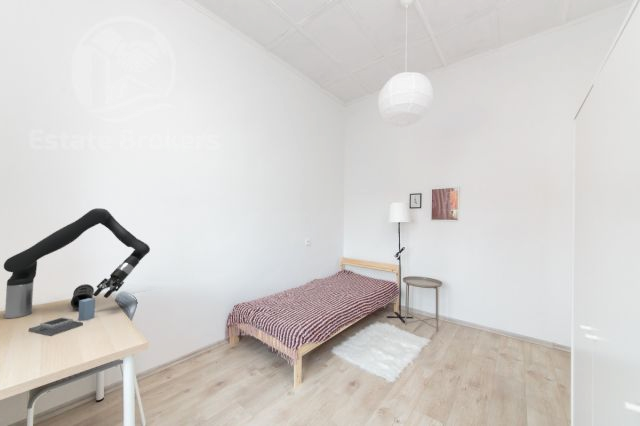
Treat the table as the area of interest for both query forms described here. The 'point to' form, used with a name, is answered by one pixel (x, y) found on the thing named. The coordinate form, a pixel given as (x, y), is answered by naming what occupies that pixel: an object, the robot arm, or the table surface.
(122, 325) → the table surface
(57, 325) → the grey metal socket plate
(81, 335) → the table surface
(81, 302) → the peg
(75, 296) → the muzzle brake
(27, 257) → the robot arm
